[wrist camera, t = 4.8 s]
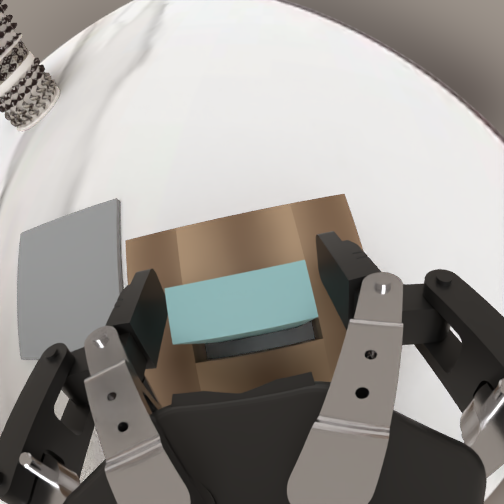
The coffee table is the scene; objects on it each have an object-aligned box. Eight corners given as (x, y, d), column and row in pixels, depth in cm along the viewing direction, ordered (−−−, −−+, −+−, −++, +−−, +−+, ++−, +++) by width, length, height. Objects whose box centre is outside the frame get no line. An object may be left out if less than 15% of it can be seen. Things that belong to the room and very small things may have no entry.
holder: (170, 421, 16) (153, 433, 14) (144, 254, 20) (125, 240, 17) (377, 381, 16) (394, 388, 13) (335, 213, 20) (344, 193, 17)
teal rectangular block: (219, 342, 18) (172, 344, 9) (214, 312, 18) (164, 288, 10) (296, 327, 18) (318, 316, 9) (290, 297, 18) (305, 259, 10)
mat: (25, 359, 18) (20, 359, 17) (24, 235, 22) (20, 233, 21) (130, 354, 18) (126, 354, 17) (120, 201, 22) (116, 198, 21)
